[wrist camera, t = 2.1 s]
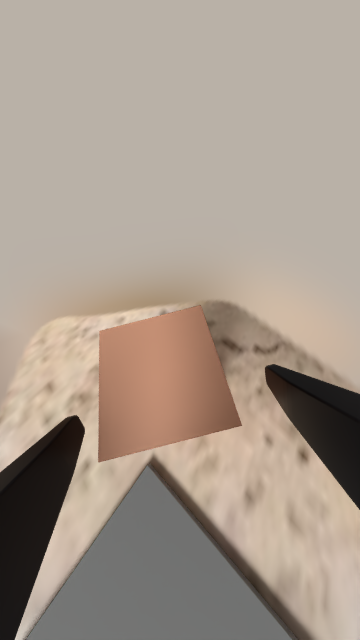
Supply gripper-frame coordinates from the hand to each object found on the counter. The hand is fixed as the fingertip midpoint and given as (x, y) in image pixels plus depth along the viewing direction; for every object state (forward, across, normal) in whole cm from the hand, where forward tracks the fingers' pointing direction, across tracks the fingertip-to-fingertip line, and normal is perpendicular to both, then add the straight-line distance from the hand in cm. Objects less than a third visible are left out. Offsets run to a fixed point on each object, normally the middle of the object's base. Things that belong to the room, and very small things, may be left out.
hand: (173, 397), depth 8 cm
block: (+7, 0, +6) cm, 9 cm away
